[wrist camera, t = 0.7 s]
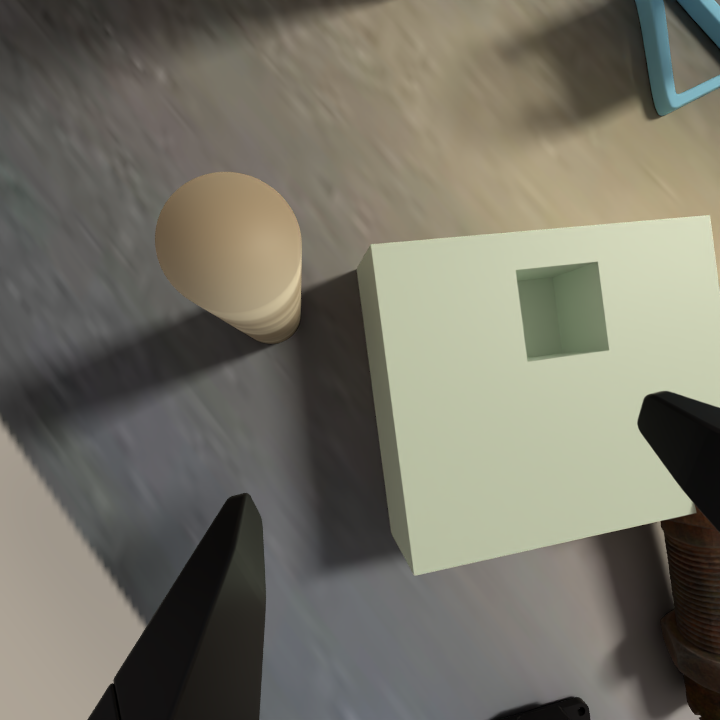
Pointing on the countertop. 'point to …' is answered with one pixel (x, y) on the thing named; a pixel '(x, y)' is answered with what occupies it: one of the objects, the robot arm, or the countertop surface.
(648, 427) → the robot arm
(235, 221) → the pin
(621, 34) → the countertop surface
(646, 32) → the chair
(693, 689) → the bolt
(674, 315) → the plinth
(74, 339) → the countertop surface
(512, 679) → the countertop surface
